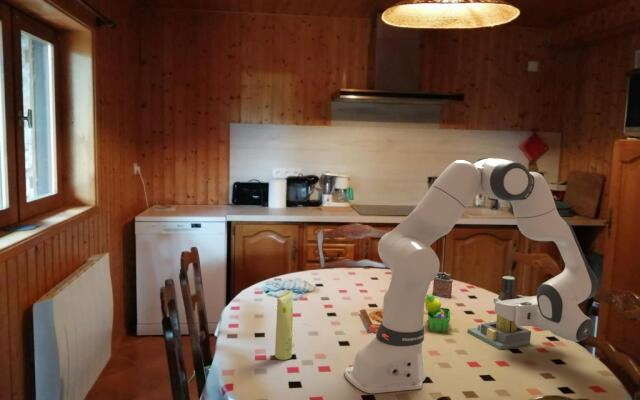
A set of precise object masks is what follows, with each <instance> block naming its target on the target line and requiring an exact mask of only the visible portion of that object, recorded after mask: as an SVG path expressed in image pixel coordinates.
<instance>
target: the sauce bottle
mask: <svg viewBox="0 0 640 400" xmlns="http://www.w3.org/2000/svg"><path fill="white" fill-rule="evenodd" d="M501 281H502V286H501V287H502V288H501V292H500V293H499V294H498V296H497V298H499V299H501V301H503V300H510V299H517V296H516V295H517V294H516V293H515V283H516V277H514V276H511V275H504V276H502V278H501ZM496 321H497V322H496ZM496 321H495V322H496V329H497V330H499V331H502V332H504V333H512V332H516V324H515V321H510V320H508V319H506V318H503V317H501V316H500V315H498V314H496Z"/></svg>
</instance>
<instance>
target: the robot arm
mask: <svg viewBox="0 0 640 400" xmlns="http://www.w3.org/2000/svg"><path fill="white" fill-rule="evenodd" d="M478 195H481V196H485V197H487V198H490V199H494V200H500V201H501V200H503V201H505V202H506V201H507V202H508V201H509V202H510V204H511V206H512V211H513V215H514V219H515V221H516V226H517V228H518V229H519V232H520V233H521V235H523V236H524V237H526V238H528V239H530V240H532V241H539V242H554V243H555V244H556V246H557V249H558V250H559V253H560V255H561V258H562V260H563V262H564V269H563V270H562V272H561V273H559V274H557V275H555V276H554V277H551V278H550V279H548V280H547V281H545V282H543V283H541V284H540V285H539V286H537V290H536V295H533V296H532V295H531V296H527V295H521V294H515V295H516V296H517V299H510V300H503V301H501V299H499V298H498V297H495V298H493V304H494V313H495V314H496V315H497V314H498V315H500V316H501V317H503V318H506V319H508V320H510V321H515V324H516V325H518V326H521V327H533V328H537V329H541V330H543V331H549V332H550V333H551V334H553V335H555V336H557V337H559V338H562V339H565V340H567V341H571V342H577V343H578V342H581V341H584V340H585V339H587V338H588V337H589V336H590V334H591V333H592V330H593V328H594V327H593V326H594V321H593V320H592V319H591V318H590V317H589V316H587V315H585V313H584V312H583V311H582V310H581V308H580V307H579V304H581V303H583V302H585V301H587V300H589V299H591V298H594V297H595V296H596V295H597V293H598V290H599V281H598V278H597V276H596V275H595V272H594V271H593V270H592V268H591V266H590V265H589V263H588V260H587V259H586V257H585V254H584V252H583V250H582V247H581V245H580V242H579V240H578V238H577V235H576V233H575V230H574V229H573V227H572V225H571V224H570V222H569V221H568V220H567V219H565V218H562V216H561V215H560V213H559V212H558V209H557V205H556V203H555V199H554V197H553V193H552V190H551V188H550V187H549V184H548V182H547V180H546V179H545V176H543V174H541V173H539V172H537V171H529V169H528V168H527V167H526V166H525V165H524V164H522V163H521V162H519V161H516V160H512V159H505V158H502V157H483V158H478V159H477V160H474V161H473V162H470V161H468V160H464V159H457V160H455V161H453V162H451V163H450V164H449V165H447V167H446V168H445V169H444V170H443V171H442V172H441V174H439V176H438V177H437V178H436V179H435V181H433V183H432V184H431V185H430V187H429V189H428V190H427V191H426V193H425V194H424V195H423V197H422V198H421V200H420V201H419V202H418V203H417V205H416V206H415V208H414V209H413V210H412V211H411V212H410V213H409V214H408V215H407V216H406V217H404V219H403V220H402V221H401V222H400V223H399V224H397V226H396V227H394V229H391V230H390V231H389V232H386V233H385V234H384V235H382V236H381V238H380V239H379V240H378V242H377V252H378V256H379V258H380V260H381V262H382V263H383V264H384V265H385V267H387V268H388V269H389V270H390V271H391V279H390V282H389V286H388V289H387V291H386V292H385V293H384V296H383V303H382V304H383V305H382V321H381V323H380V325H379V327H378V326H376V325H375V324H371V325H370V326H369V328H368V330H369V331H370V332H371V333H372V334H375V337H374V338H373V339H372V340H370V341H369V342H368V343H366V345H365V346H363V347H361V349H359V350H358V351H357V352H356V354H355V357H354V361H353V365H352V366H349V367H346V368H345V369H344V375H345V377H346V380H347V381H348V382H350V384H351V385H353V386H354V387H356V389H358V390H360V391H362V392H364V393H367V394H381V393H382V394H383V393H389V392H391V393H392V392H401V391H403V392H404V391H412V390H420V389H422V388H423V382H425V380H426V378H427V374H426V371H425V365H424V358H423V357H424V355H423V342H424V339H425V325H424V316H425V298H426V297H427V296H426V295H428V291H429V287H430V285H431V282H433V281H434V278H435V277H438V275H437V274H438V272H440V266H441V265H440V259H439V257H438V255H437V253H436V252H435V250H433V248H432V247H431V245H432V244H433V243H435V242H436V241H437V240H439V239H440V238H442V237H444V236H446V235H448V234H449V233H450V232H451V231H452V229H453V228H454V226H455V225H456V224H457V222H458V221H459V220H460V218H461V216H462V215H463V214H464V213H465V211H466V210H467V209H468V207H469V205H470V203H471V202H472V200H474V199H475V198H476V197H477V196H478Z"/></svg>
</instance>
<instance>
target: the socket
mask: <svg viewBox="0 0 640 400" xmlns="http://www.w3.org/2000/svg"><path fill="white" fill-rule="evenodd" d="M489 322H490V323H487V322H484V324H482V323H480V324H481V326H480V327H481V332H480V333H482V334H484V335H486V338H488V339H490V340H492V341H495V340H496V341H498V342H500V343H502V344H504V345H508V344H513V343H518V342H523V341H528V340H530V341H531V338H532V337H531V335H532V330H529V329H527V328H525V327H524V326H519V325H516V332H512V333H504V332H502V331H499V330H497V329H496V322H497V320H496V321H494V322H491V321H489Z"/></svg>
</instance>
